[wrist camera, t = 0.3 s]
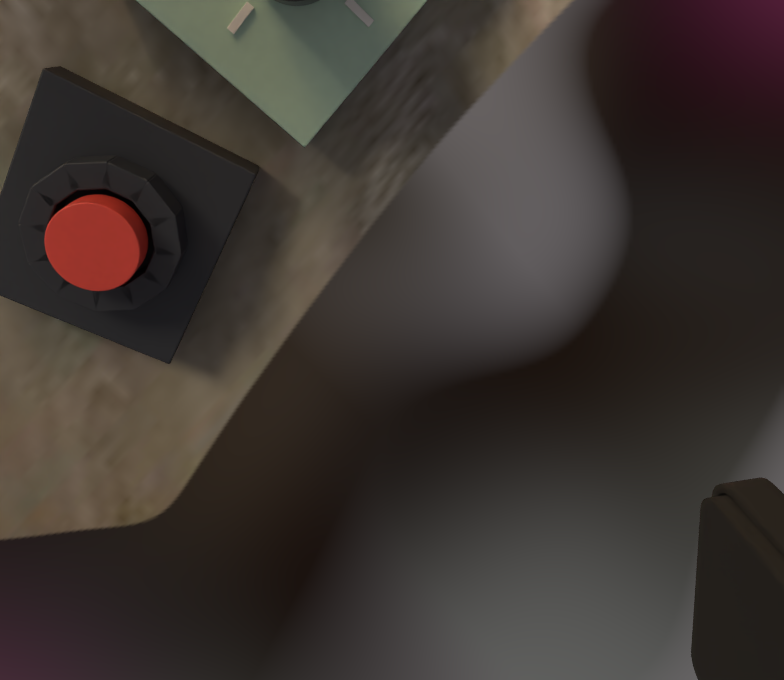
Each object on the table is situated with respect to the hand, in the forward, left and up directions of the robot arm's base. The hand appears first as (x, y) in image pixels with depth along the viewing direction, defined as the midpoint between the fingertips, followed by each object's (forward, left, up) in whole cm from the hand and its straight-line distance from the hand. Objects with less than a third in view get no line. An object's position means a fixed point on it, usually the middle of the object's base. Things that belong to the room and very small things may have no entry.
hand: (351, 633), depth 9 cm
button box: (+7, -8, -30) cm, 31 cm away
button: (+7, -8, -26) cm, 28 cm away
